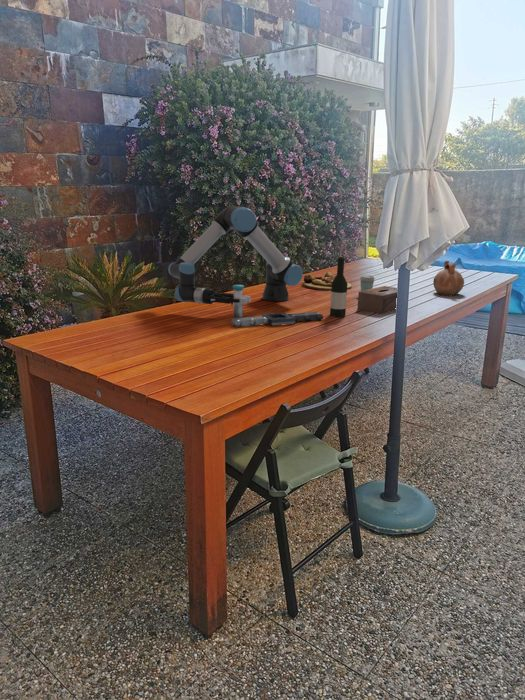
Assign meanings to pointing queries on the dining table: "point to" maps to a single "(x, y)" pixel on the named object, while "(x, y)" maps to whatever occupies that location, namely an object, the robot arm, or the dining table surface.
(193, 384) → the dining table surface
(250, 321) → the chain ends
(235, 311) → the steel pin
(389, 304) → the tissue box cover
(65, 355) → the dining table surface
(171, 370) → the dining table surface
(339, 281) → the wine bottle
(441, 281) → the jug
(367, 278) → the coffee cup
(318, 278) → the wooden plate with food
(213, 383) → the dining table surface
